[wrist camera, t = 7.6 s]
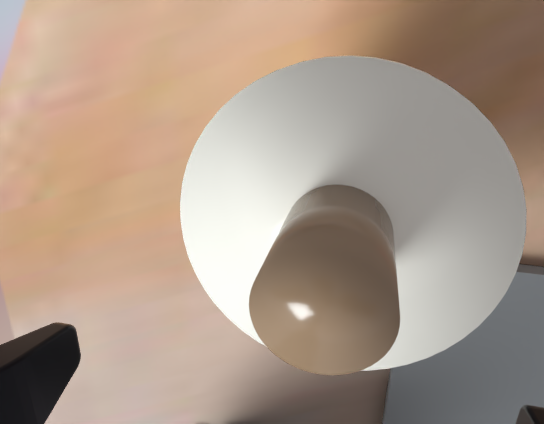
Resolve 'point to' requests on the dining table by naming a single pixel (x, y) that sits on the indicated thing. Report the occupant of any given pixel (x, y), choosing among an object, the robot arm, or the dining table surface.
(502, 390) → the mat
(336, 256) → the lid
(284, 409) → the dining table surface
